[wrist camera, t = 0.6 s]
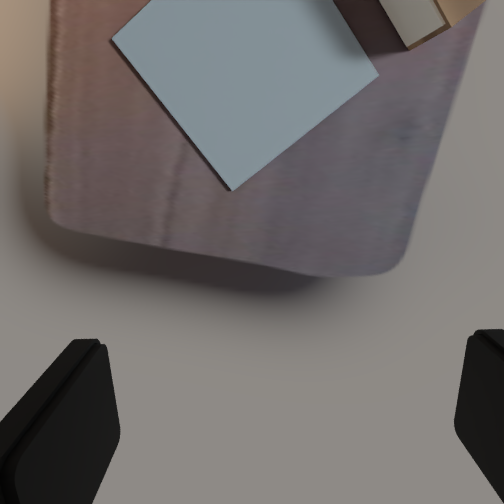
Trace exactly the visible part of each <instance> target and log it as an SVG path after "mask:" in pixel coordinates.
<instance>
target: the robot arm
mask: <svg viewBox="0 0 504 504" xmlns="http://www.w3.org/2000/svg"><path fill="white" fill-rule="evenodd" d="M454 427H455V431H456V434H457V436H458V437H459V439H460V440H461V442H462V443H463V445H464V446H465V448H466V449H467V451H468V452H469V453H470V455H471V456H472V458H473V459H474V461H475V462H476V464H477V465H478V467H479V468H480V470H481V471H482V472H483V474H484V475H485V477H486V478H487V480H488V481H489V483H490V484H491V486H492V487H493V488H494V490H495V491H496V493H497V494H498V496H499V497H500V499H501V500H502V502H503V503H504V330H503V329H487V330H486V329H485V330H477V331H475V333H474V335H472V336H470V337H469V338H468V340H467V345H466V351H465V357H464V364H463V370H462V375H461V382H460V388H459V394H458V400H457V406H456V412H455V418H454ZM119 439H120V424H119V418H118V412H117V405H116V399H115V393H114V387H113V381H112V376H111V369H110V363H109V357H108V350H107V347H106V345H105V344H100V341H99V340H98V339H74V340H73V341H71V343H70V344H69V345H68V346H67V347H66V348H65V349H64V350H63V352H62V353H61V354H60V355H59V356H58V357H57V358H56V360H55V361H54V362H53V363H52V364H51V365H50V366H49V368H48V369H47V370H46V371H45V372H44V373H43V374H42V375H41V376H40V378H39V379H38V380H37V381H36V382H35V383H34V385H33V386H32V387H31V388H30V389H29V390H28V391H27V392H26V394H25V395H24V396H23V397H22V398H21V399H20V400H19V401H18V402H17V404H16V405H15V406H14V407H13V408H12V409H11V410H10V412H9V413H8V414H7V415H6V416H5V417H4V418H3V420H2V421H1V422H0V504H92V503H93V500H94V498H95V496H96V493H97V491H98V489H99V487H100V484H101V482H102V480H103V478H104V475H105V473H106V471H107V468H108V466H109V464H110V462H111V459H112V457H113V454H114V452H115V450H116V448H117V445H118V443H119Z"/></svg>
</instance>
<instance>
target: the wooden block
mask: <svg viewBox="0 0 504 504" xmlns="http://www.w3.org/2000/svg"><path fill="white" fill-rule="evenodd" d="M379 1H380V3H381V5H382V6H383V8H384V10H385V11H386V13H387V15H388V16H389V18H390V20H391V22H392V23H393V25H394V27H395V28H396V30H397V32H398V34H399V35H400V37H401V39H402V40H403V42H404V44H405V45H406V47H407V48H408V49H409V51H410V50H412V49H413V48H415V47H417V46H419V45H421V44H422V43H424V42H426V41H428V40H429V39H431V38H433V37H435V36H437V35H438V34H440V33H442V32H444V31H445V30H447V29H449V28H451V27H452V26H454V25H455V24H456V23H457V22H459V21H460V20H461V19H462V18H464V17H465V16H466V15H468V14H469V13H470V12H471V11H473V10H474V9H475V8H476V7H478V6H479V5H480V4H482V3H483V2H484V1H485V0H379Z"/></svg>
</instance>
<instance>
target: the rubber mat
mask: <svg viewBox="0 0 504 504" xmlns="http://www.w3.org/2000/svg"><path fill="white" fill-rule="evenodd" d="M112 40H113V41H114V42H115V43H116V45H117V46H118V47H119V49H120V50H121V51H122V52H123V54H124V55H125V56H126V57H127V59H128V60H129V61H130V62H131V64H132V65H133V66H134V68H135V69H136V70H137V71H138V73H139V74H140V75H141V76H142V78H143V79H144V80H145V81H146V83H147V84H148V85H149V86H150V88H151V89H152V90H153V92H154V93H155V94H156V95H157V97H158V98H159V99H160V100H161V102H162V103H163V104H164V105H165V107H166V108H167V109H168V111H169V112H170V113H171V114H172V116H173V117H174V118H175V119H176V121H177V122H178V123H179V124H180V126H181V127H182V128H183V129H184V131H185V132H186V133H187V135H188V136H189V137H190V138H191V140H192V141H193V142H194V143H195V145H196V146H197V147H198V148H199V150H200V151H201V152H202V153H203V155H204V156H205V157H206V159H207V160H208V161H209V162H210V164H211V165H212V166H213V167H214V169H215V170H216V171H217V172H218V174H219V175H220V176H221V178H222V179H223V180H224V181H225V183H226V184H227V185H228V186H229V188H230V189H231V190H232V191H234V190H235V189H236V188H237V187H239V186H240V185H241V184H243V183H244V182H245V181H246V180H248V179H249V178H250V177H251V176H253V175H254V174H255V173H256V172H258V171H259V170H260V169H261V168H263V167H264V166H265V165H267V164H268V163H269V162H270V161H272V160H273V159H274V158H275V157H277V156H278V155H279V154H280V153H282V152H283V151H284V150H285V149H287V148H288V147H289V146H291V145H292V144H293V143H294V142H296V141H297V140H298V139H299V138H301V137H302V136H303V135H304V134H306V133H307V132H308V131H309V130H311V129H312V128H313V127H315V126H316V125H317V124H318V123H320V122H321V121H322V120H323V119H325V118H326V117H327V116H328V115H330V114H331V113H332V112H333V111H335V110H336V109H337V108H339V107H340V106H341V105H342V104H344V103H345V102H346V101H347V100H349V99H350V98H351V97H352V96H354V95H355V94H356V93H357V92H359V91H360V90H361V89H363V88H364V87H365V86H366V85H368V84H369V83H370V82H371V81H373V80H374V79H375V78H376V77H378V76H379V75H378V73H377V71H376V70H375V68H374V67H373V65H372V63H371V62H370V60H369V58H368V57H367V55H366V54H365V52H364V50H363V49H362V47H361V46H360V44H359V42H358V41H357V39H356V37H355V36H354V34H353V33H352V31H351V29H350V28H349V26H348V25H347V23H346V21H345V20H344V18H343V16H342V15H341V13H340V12H339V10H338V8H337V7H336V5H335V4H334V2H333V0H151V1H150V2H149V3H148V4H147V5H146V6H145V7H144V8H143V9H142V10H141V11H140V12H139V13H138V14H137V15H136V16H135V17H133V18H132V19H131V20H130V21H129V22H128V23H127V24H126V25H125V26H124V27H123V28H122V29H121V30H120V31H119V32H118V33H117V34H116V35H115V36H114V37H113V38H112Z"/></svg>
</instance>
